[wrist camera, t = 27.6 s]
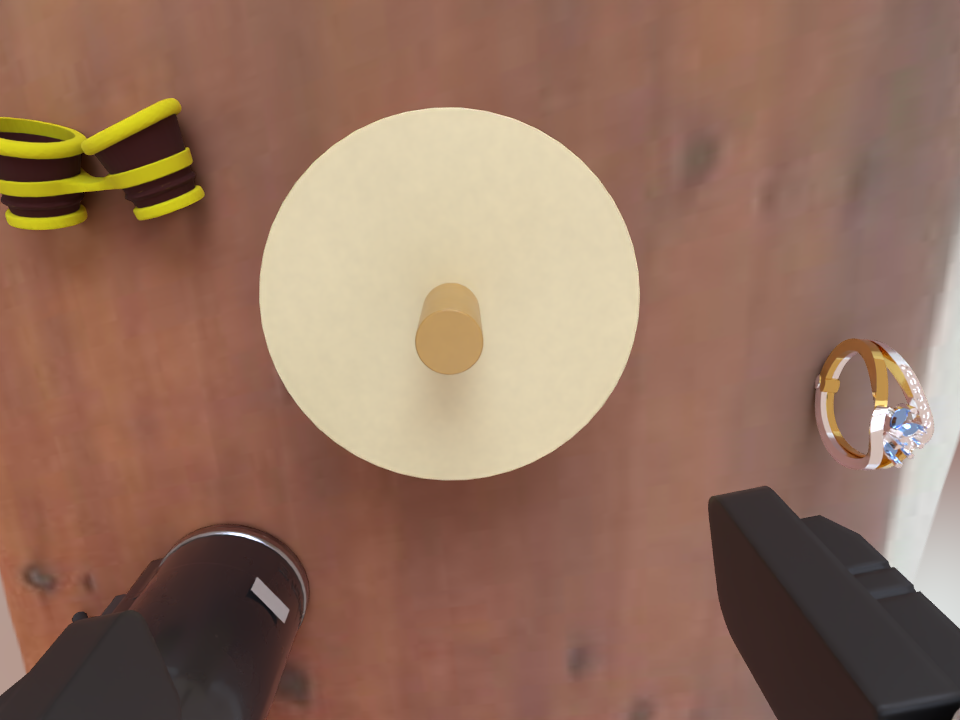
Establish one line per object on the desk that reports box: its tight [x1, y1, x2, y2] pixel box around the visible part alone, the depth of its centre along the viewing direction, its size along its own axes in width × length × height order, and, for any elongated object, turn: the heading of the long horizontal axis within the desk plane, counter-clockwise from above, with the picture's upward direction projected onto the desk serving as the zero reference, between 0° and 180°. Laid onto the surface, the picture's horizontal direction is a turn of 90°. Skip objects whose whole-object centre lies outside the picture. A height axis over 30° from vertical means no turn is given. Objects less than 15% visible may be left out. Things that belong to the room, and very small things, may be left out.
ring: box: [815, 339, 934, 470], centre depth 35 cm, size 7×3×8 cm, turn 174°
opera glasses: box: [0, 98, 205, 230], centre depth 32 cm, size 10×5×5 cm, turn 95°
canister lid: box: [259, 108, 640, 480], centre depth 24 cm, size 15×15×6 cm
